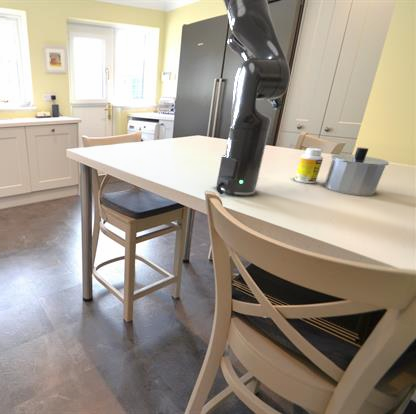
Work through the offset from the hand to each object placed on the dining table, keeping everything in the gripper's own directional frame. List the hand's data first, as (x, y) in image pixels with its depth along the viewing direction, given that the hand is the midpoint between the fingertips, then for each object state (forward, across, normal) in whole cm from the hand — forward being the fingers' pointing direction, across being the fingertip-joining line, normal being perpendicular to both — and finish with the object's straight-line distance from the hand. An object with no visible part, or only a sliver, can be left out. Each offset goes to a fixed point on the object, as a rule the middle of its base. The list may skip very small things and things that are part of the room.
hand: (279, 107), depth 94 cm
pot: (+32, -8, +2) cm, 33 cm away
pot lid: (+26, -8, +8) cm, 28 cm away
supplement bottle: (+25, -2, -5) cm, 26 cm away
